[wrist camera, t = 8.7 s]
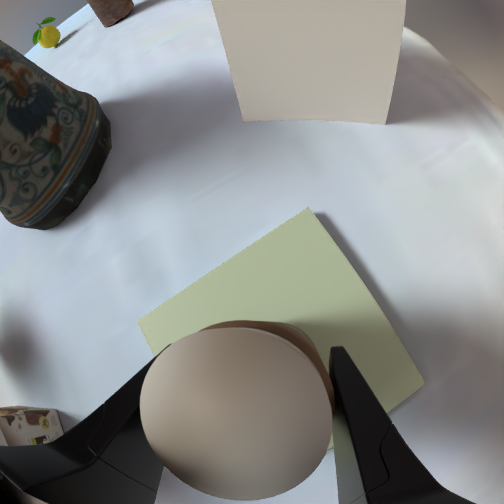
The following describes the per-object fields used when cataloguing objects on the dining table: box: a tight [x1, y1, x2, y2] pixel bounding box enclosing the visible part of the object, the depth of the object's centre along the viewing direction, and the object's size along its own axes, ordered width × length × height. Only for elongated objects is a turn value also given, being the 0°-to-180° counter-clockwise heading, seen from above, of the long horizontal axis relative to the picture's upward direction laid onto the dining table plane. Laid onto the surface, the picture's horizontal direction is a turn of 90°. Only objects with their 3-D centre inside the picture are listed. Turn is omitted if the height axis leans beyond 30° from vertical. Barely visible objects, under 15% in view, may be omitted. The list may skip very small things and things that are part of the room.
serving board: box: [137, 207, 425, 450], centre depth 17 cm, size 14×14×1 cm
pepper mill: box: [140, 320, 335, 500], centre depth 10 cm, size 5×5×10 cm
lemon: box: [33, 17, 60, 48], centre depth 36 cm, size 7×6×10 cm
